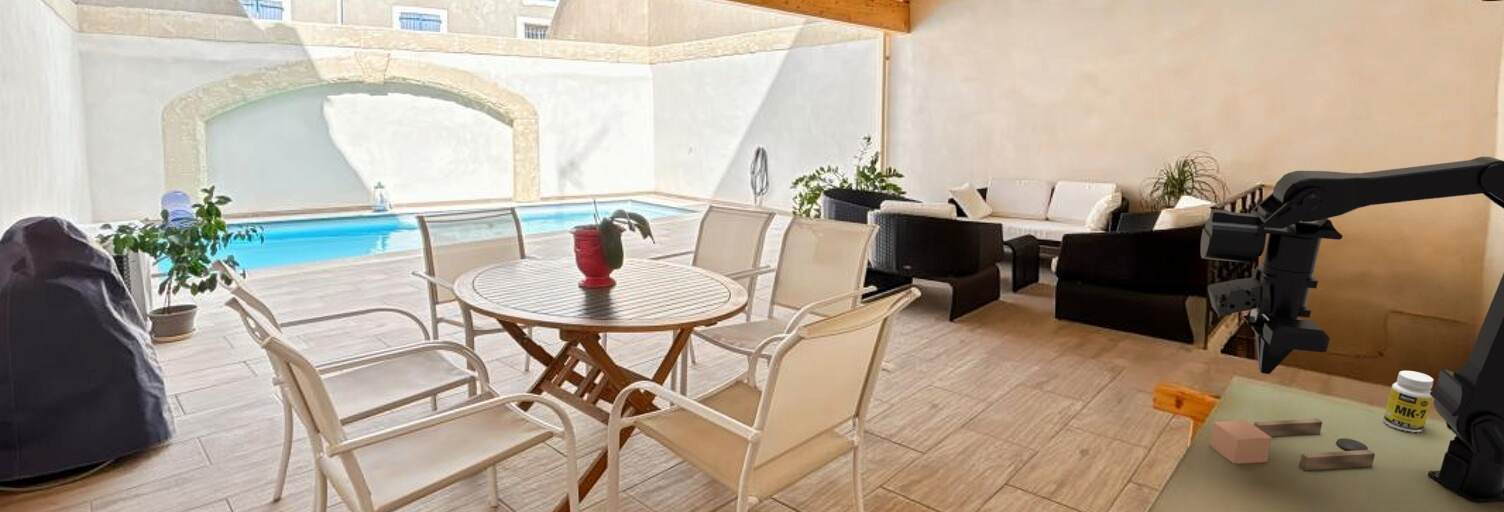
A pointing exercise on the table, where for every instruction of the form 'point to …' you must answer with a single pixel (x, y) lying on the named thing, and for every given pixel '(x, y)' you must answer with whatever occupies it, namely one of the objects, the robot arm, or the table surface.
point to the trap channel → (1350, 458)
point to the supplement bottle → (1409, 401)
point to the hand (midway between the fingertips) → (1264, 372)
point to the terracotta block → (1240, 441)
